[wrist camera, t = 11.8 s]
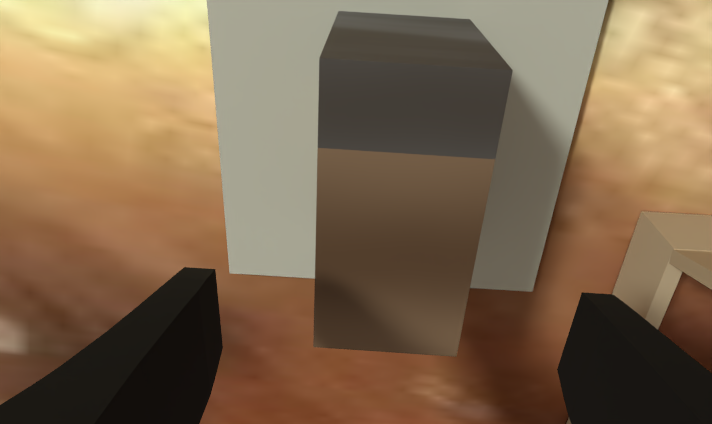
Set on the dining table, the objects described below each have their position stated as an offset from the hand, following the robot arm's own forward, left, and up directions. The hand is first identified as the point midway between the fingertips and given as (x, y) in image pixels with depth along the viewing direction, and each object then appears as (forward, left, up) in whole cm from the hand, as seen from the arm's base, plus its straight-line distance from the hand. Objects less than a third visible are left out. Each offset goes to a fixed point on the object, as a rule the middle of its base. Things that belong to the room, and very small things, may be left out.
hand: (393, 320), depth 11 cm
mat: (0, 0, -9) cm, 9 cm away
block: (0, 0, -9) cm, 9 cm away
